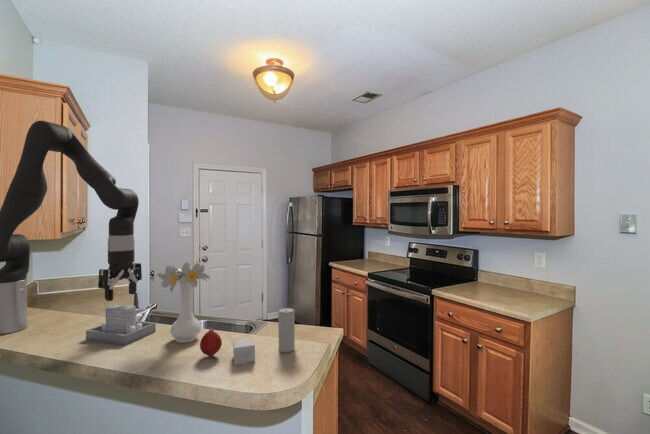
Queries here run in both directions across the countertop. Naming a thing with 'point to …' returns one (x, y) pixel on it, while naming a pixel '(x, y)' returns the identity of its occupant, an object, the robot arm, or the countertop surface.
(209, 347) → the onion
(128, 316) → the medicine box
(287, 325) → the beverage can
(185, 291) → the flower vase
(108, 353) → the countertop surface
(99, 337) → the tray
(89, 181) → the robot arm
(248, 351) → the small box
